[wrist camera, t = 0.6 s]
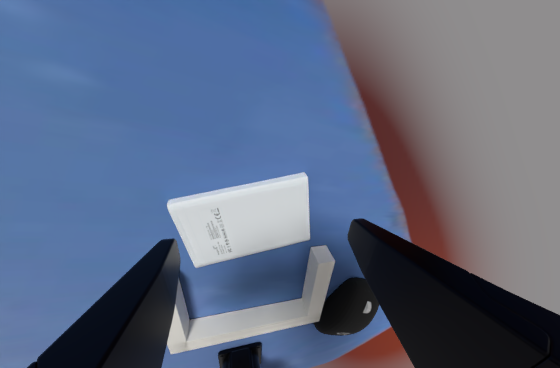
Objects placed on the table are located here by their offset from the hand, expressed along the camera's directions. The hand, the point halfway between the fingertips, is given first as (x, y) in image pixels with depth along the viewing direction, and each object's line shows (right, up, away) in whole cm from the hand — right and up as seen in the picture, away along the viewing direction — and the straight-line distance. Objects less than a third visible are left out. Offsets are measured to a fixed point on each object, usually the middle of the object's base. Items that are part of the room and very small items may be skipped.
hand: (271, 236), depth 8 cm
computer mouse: (+10, -17, +26) cm, 32 cm away
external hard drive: (-3, -1, +14) cm, 14 cm away
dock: (-4, -11, +18) cm, 22 cm away
